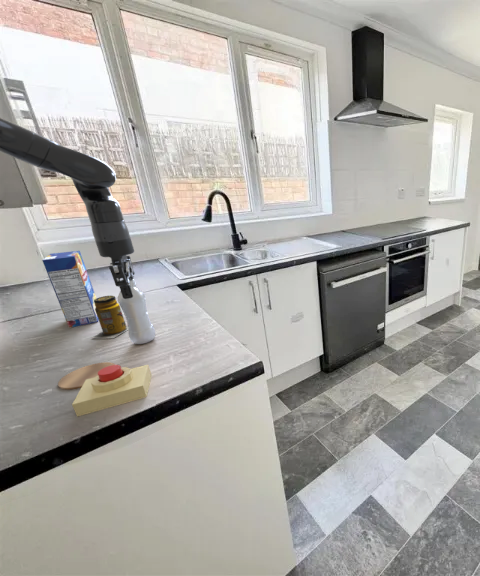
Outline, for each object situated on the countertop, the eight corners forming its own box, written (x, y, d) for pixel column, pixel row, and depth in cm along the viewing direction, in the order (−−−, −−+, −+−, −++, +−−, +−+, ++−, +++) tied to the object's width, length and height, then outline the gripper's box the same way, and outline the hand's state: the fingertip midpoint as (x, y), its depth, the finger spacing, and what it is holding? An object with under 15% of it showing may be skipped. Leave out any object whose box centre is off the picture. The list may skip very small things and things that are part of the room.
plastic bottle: (126, 347, 92) (105, 284, 86) (139, 337, 99) (121, 277, 92) (150, 345, 93) (131, 283, 86) (161, 335, 99) (144, 276, 93)
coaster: (51, 395, 72) (50, 393, 72) (67, 371, 81) (66, 369, 81) (111, 380, 77) (110, 378, 77) (120, 359, 86) (119, 358, 86)
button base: (77, 416, 65) (68, 397, 63) (90, 390, 73) (83, 372, 72) (146, 397, 71) (140, 378, 69) (151, 375, 79) (146, 358, 77)
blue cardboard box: (74, 316, 115) (50, 253, 107) (101, 311, 119) (79, 250, 111) (69, 328, 106) (42, 260, 98) (97, 322, 110) (74, 256, 102)
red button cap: (98, 384, 68) (95, 376, 67) (102, 375, 71) (100, 367, 70) (121, 379, 70) (118, 371, 69) (124, 370, 73) (122, 362, 72)
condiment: (133, 326, 106) (123, 294, 102) (113, 338, 98) (101, 303, 94) (112, 327, 106) (101, 294, 102) (90, 339, 98) (77, 304, 94)
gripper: (101, 235, 89) (119, 290, 95) (87, 243, 78) (108, 305, 83) (134, 233, 93) (149, 285, 98) (125, 240, 81) (142, 299, 87)
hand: (130, 294), depth 91 cm, fingers closed on plastic bottle, 6 cm apart
